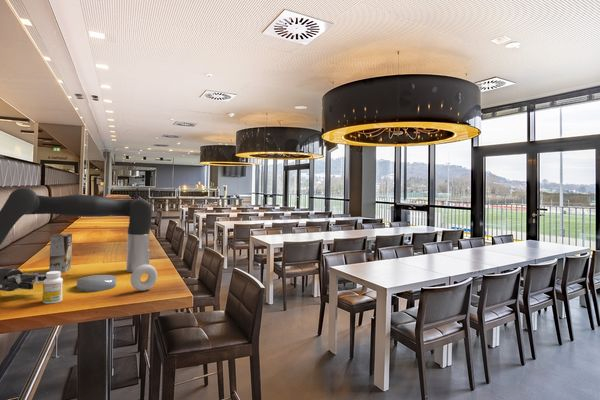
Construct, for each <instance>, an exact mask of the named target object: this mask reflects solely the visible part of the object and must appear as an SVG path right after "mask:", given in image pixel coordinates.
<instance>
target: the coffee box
mask: <svg viewBox="0 0 600 400" xmlns="http://www.w3.org/2000/svg"><path fill="white" fill-rule="evenodd" d="M49 239H50V240H49V265H48V266H49V270H48V272H50V271H60V272H61V273H67V272H68V271H69V270H71V269H72V247H73V246H72V243H73V233H55V234H52V235H50V236H49Z"/></svg>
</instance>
